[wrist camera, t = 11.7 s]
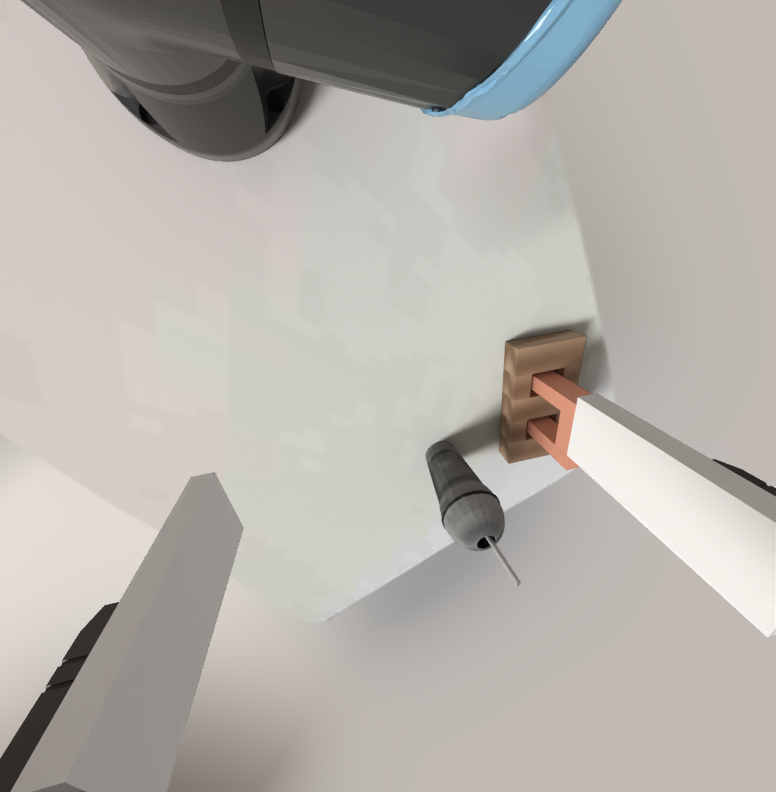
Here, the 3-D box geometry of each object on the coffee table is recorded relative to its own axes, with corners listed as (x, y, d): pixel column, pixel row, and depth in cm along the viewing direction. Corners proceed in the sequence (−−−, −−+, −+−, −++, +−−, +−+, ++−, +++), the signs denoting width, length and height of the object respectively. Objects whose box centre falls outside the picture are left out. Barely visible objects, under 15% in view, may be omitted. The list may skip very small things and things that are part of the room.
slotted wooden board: (505, 341, 40) (517, 349, 37) (569, 329, 41) (586, 336, 38) (498, 451, 48) (508, 463, 46) (552, 439, 49) (564, 451, 46)
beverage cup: (424, 431, 44) (488, 559, 26) (469, 436, 46) (557, 558, 28) (411, 471, 47) (460, 609, 29) (454, 474, 49) (525, 606, 31)
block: (524, 369, 42) (578, 406, 33) (544, 365, 42) (604, 401, 33) (518, 424, 46) (566, 470, 37) (537, 420, 47) (588, 464, 37)
